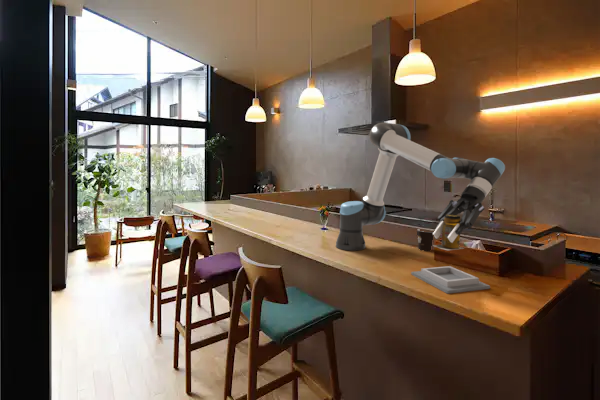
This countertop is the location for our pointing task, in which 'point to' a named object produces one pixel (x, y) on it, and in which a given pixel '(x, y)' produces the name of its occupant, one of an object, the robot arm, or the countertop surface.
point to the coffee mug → (424, 240)
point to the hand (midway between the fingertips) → (442, 238)
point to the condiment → (448, 226)
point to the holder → (450, 279)
